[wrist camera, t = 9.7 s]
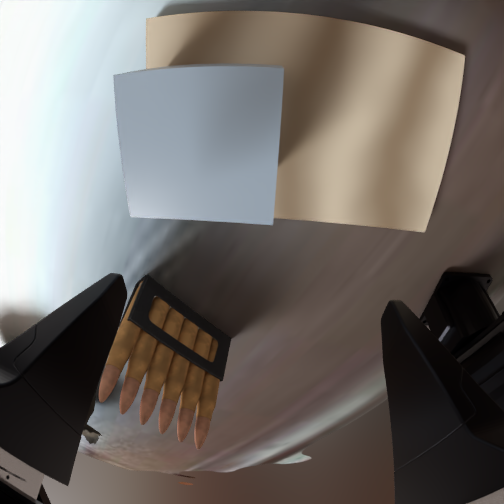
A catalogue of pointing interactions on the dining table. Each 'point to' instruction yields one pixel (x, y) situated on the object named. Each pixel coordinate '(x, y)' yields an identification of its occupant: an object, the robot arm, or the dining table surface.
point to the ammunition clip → (167, 360)
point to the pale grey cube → (201, 141)
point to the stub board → (337, 108)
